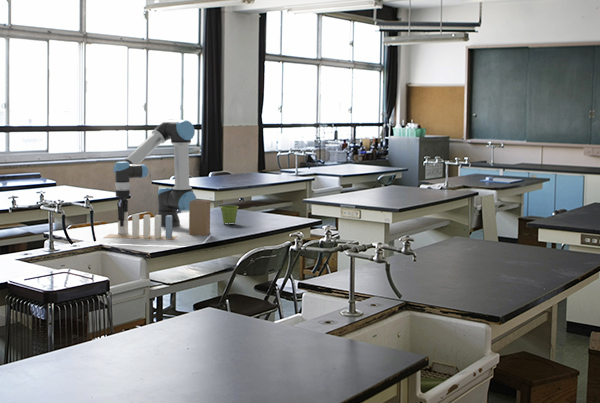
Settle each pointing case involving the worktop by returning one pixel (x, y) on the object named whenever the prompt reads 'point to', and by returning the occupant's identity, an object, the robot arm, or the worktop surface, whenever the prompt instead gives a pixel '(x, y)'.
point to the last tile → (168, 226)
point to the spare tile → (125, 224)
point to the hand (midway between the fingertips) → (123, 231)
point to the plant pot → (229, 213)
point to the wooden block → (199, 217)
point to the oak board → (138, 237)
